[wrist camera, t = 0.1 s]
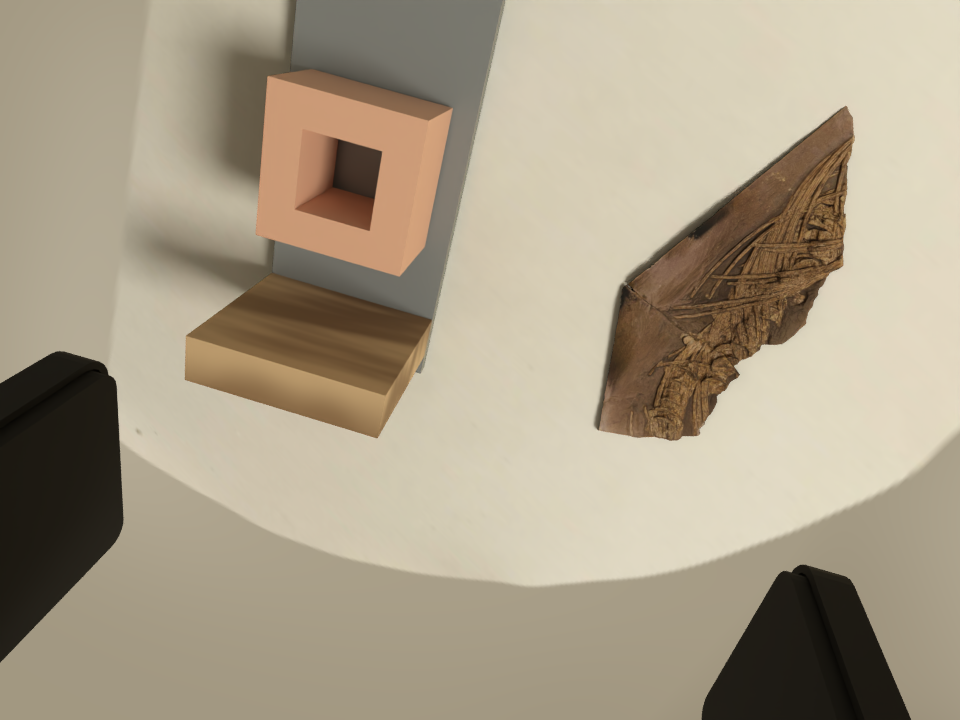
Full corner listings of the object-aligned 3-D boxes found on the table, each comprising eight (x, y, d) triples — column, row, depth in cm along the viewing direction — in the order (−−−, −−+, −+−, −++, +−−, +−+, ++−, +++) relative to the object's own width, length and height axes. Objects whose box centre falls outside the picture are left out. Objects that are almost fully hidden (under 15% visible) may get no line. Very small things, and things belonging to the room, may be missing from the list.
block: (312, 68, 41) (267, 76, 36) (452, 108, 41) (428, 120, 36) (297, 210, 46) (255, 234, 40) (424, 246, 45) (399, 276, 40)
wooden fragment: (663, 467, 51) (664, 475, 50) (541, 392, 50) (540, 399, 49) (940, 174, 39) (947, 178, 38) (786, 68, 38) (790, 69, 37)
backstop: (271, 272, 48) (186, 335, 39) (432, 319, 48) (385, 395, 38) (268, 310, 50) (184, 379, 40) (424, 356, 49) (377, 438, 39)
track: (308, -53, 40) (301, -55, 39) (505, 0, 39) (502, -1, 38) (273, 322, 51) (267, 327, 50) (423, 367, 51) (420, 373, 50)
